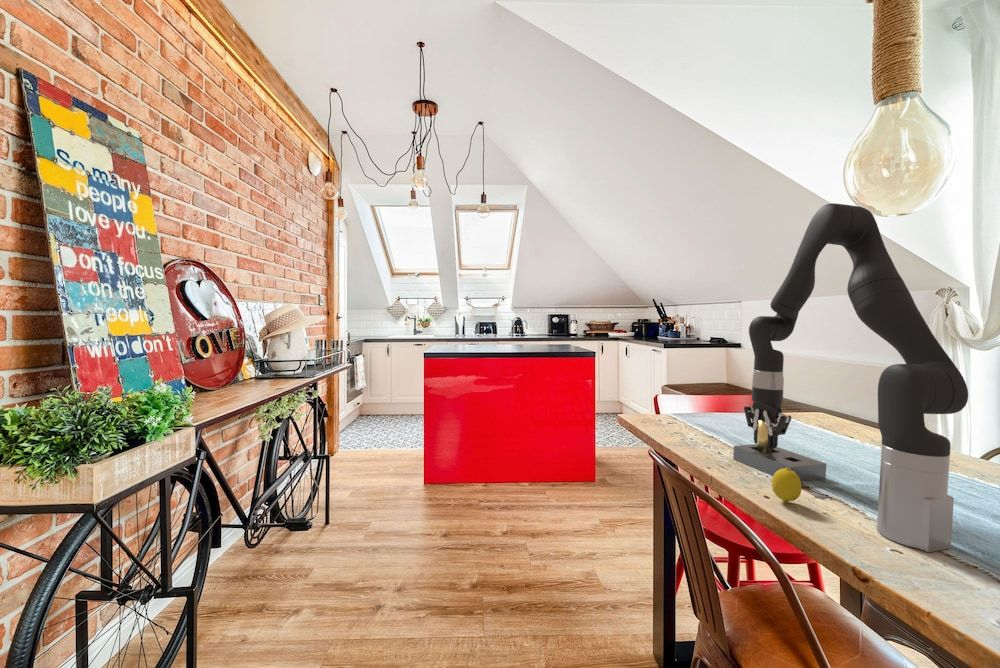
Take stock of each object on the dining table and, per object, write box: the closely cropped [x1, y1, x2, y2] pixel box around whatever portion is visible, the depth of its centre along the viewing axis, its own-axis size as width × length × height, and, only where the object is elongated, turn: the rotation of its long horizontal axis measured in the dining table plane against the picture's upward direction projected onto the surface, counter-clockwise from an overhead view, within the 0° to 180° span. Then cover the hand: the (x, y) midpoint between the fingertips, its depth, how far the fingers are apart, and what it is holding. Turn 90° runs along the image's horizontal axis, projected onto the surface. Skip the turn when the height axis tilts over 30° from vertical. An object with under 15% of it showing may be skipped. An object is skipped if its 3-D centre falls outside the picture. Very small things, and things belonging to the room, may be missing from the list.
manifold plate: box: [732, 443, 827, 482], centre depth 117 cm, size 18×12×4 cm, turn 16°
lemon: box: [771, 468, 802, 504], centre depth 95 cm, size 6×6×8 cm
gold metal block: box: [757, 420, 774, 454], centre depth 121 cm, size 4×4×10 cm
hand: (765, 445), depth 121 cm, fingers closed on gold metal block, 4 cm apart
